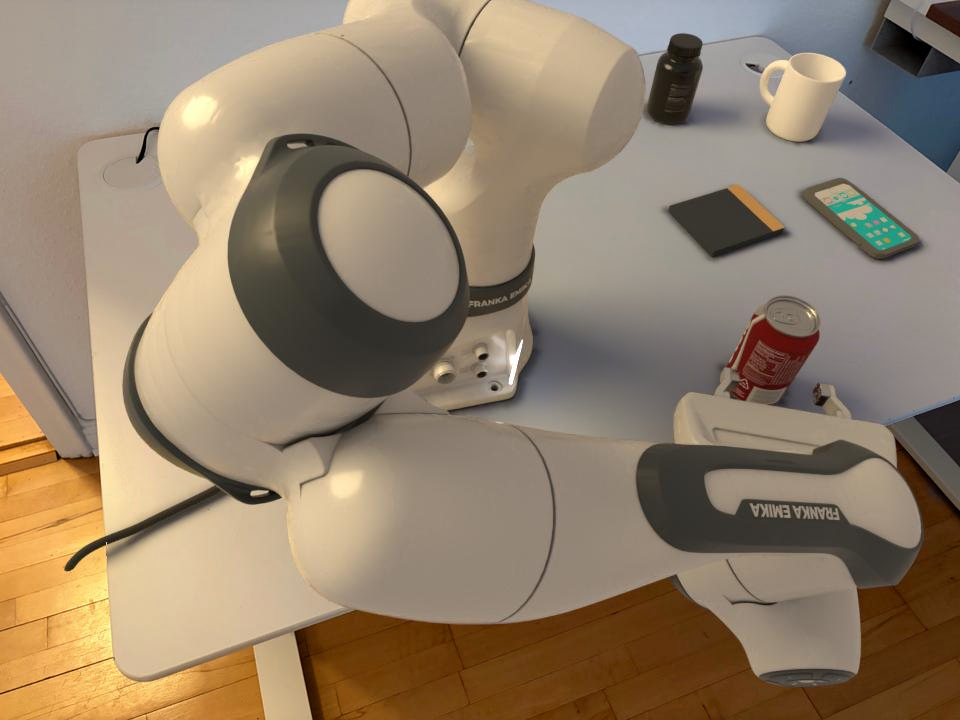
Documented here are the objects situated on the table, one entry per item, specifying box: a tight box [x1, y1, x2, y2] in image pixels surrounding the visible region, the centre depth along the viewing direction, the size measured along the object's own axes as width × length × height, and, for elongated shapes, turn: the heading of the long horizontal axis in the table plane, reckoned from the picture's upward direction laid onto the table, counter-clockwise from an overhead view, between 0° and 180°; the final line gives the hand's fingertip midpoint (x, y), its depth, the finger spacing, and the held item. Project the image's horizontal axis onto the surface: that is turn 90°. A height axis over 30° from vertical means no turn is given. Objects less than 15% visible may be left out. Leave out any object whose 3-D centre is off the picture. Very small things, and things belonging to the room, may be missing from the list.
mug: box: [759, 52, 847, 143], centre depth 111 cm, size 12×8×10 cm
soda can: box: [725, 294, 822, 406], centre depth 76 cm, size 7×7×12 cm
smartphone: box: [802, 177, 920, 260], centre depth 100 cm, size 9×1×15 cm
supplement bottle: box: [646, 32, 704, 125], centre depth 110 cm, size 7×7×12 cm
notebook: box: [667, 183, 785, 258], centre depth 98 cm, size 12×10×1 cm
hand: (775, 379), depth 73 cm, fingers open, 8 cm apart
